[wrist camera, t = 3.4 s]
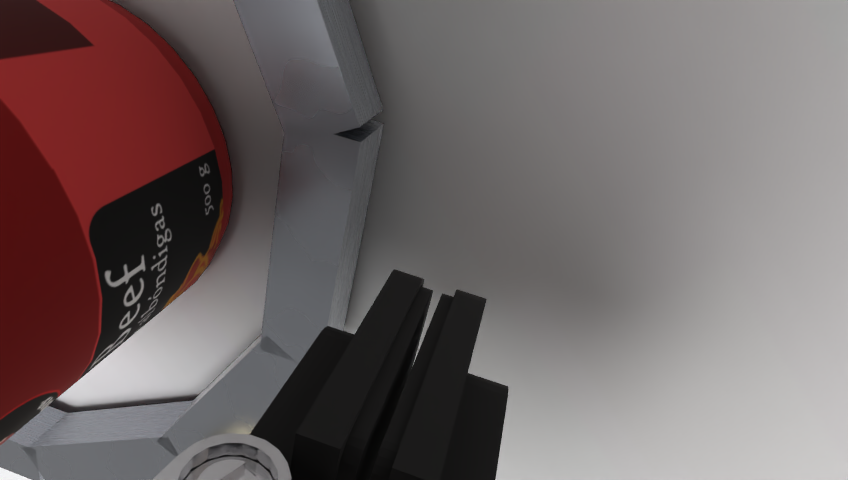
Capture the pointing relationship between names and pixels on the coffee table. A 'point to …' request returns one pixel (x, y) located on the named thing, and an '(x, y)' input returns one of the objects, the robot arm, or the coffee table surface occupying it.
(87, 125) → the canned food
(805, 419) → the coffee table surface
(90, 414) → the ring
